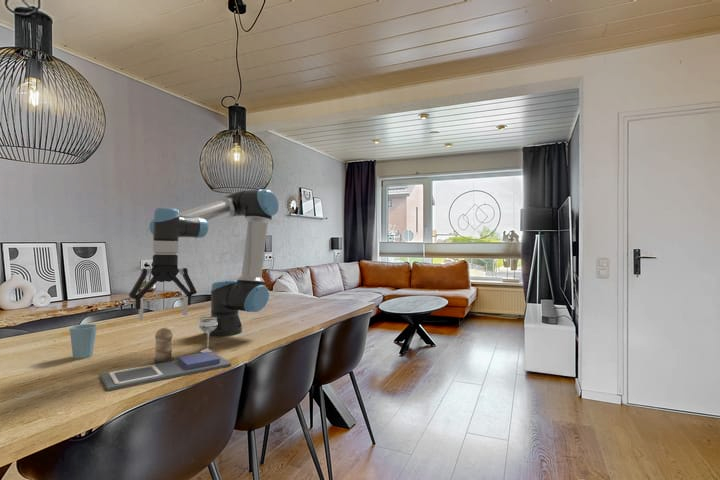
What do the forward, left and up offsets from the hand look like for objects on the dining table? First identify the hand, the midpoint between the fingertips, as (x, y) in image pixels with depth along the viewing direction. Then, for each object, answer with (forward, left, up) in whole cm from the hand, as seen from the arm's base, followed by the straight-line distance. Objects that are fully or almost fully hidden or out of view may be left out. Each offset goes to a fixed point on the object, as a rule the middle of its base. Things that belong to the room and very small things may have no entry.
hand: (163, 317), depth 127 cm
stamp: (0, 0, -15) cm, 15 cm away
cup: (+20, -23, -15) cm, 34 cm away
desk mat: (+1, +11, -15) cm, 19 cm away
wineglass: (-16, -4, -15) cm, 23 cm away
